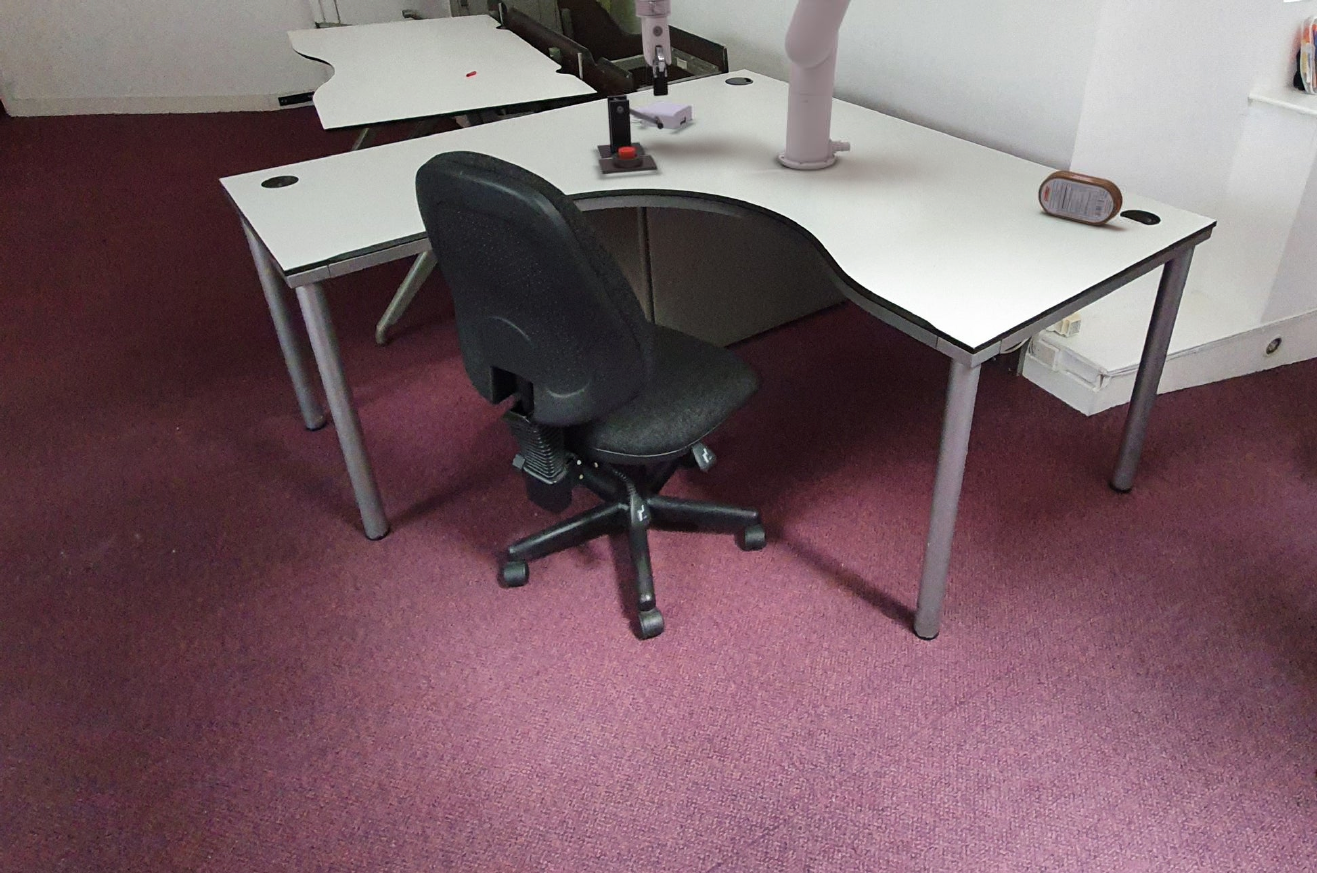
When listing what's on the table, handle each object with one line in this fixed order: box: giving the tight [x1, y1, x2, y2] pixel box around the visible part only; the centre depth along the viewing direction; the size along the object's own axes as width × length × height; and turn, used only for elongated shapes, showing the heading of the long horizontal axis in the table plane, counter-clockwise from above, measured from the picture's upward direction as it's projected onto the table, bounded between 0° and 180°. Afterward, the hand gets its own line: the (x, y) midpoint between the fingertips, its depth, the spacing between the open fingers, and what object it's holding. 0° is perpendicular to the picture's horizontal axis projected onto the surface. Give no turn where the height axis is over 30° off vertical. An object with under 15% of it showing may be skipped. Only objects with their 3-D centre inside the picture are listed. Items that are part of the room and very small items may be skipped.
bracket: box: [597, 94, 646, 159], centre depth 214 cm, size 10×9×13 cm
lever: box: [613, 98, 664, 130], centre depth 213 cm, size 12×6×2 cm, turn 100°
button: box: [619, 147, 635, 159], centre depth 206 cm, size 4×4×2 cm
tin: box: [1037, 170, 1124, 226], centre depth 176 cm, size 15×3×8 cm, turn 48°
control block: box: [598, 151, 658, 175], centre depth 208 cm, size 12×8×4 cm, turn 99°
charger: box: [632, 101, 693, 130], centre depth 235 cm, size 5×9×15 cm
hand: (657, 90), depth 211 cm, fingers open, 9 cm apart
